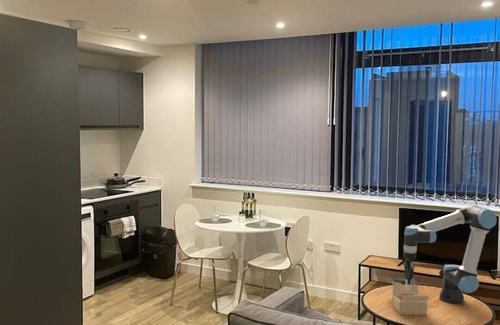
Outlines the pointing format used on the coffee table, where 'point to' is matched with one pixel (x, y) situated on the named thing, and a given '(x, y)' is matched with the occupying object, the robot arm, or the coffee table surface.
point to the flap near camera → (415, 298)
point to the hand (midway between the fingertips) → (407, 289)
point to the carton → (409, 306)
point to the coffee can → (398, 282)
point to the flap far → (401, 289)
